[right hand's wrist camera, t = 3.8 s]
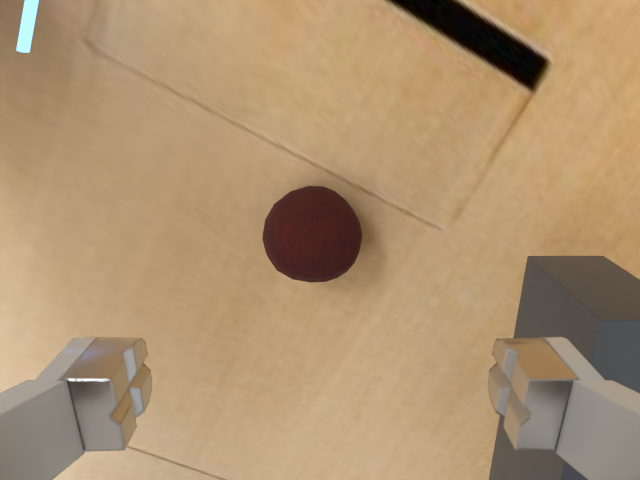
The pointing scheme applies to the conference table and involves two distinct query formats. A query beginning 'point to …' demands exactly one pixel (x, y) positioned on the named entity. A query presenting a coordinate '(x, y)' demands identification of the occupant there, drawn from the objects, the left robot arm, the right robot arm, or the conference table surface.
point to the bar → (574, 339)
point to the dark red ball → (312, 235)
